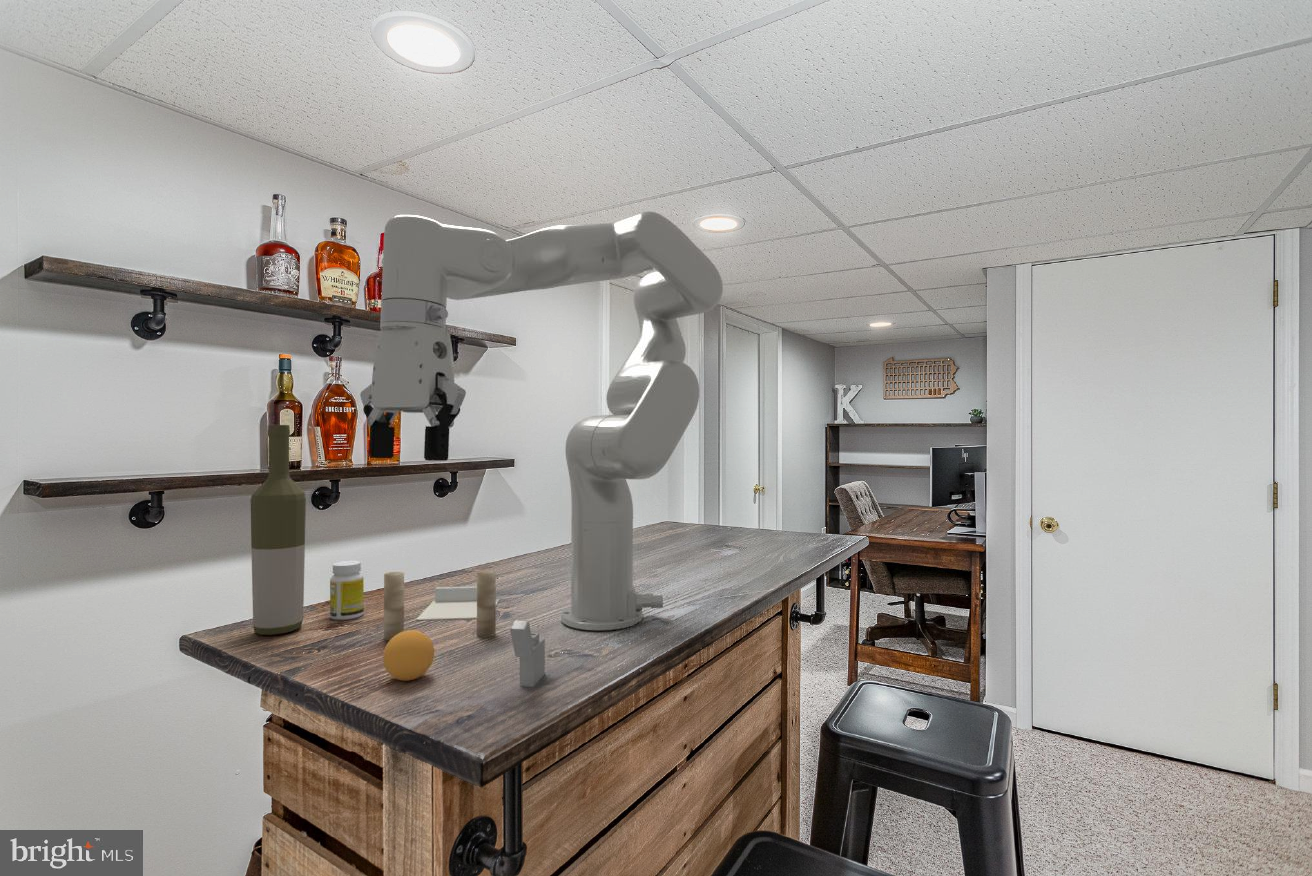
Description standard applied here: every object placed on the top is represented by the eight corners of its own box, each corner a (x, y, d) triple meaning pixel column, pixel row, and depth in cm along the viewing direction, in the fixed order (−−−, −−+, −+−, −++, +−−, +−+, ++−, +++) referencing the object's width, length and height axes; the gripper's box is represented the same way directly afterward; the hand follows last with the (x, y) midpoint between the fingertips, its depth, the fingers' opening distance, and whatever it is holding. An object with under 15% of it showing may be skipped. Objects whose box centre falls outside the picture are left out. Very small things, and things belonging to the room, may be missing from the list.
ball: (439, 669, 78) (439, 623, 78) (427, 687, 72) (427, 637, 72) (391, 670, 77) (391, 624, 77) (376, 689, 71) (376, 639, 71)
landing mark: (499, 600, 110) (499, 599, 110) (489, 618, 100) (489, 616, 100) (433, 601, 109) (433, 600, 109) (416, 620, 98) (416, 618, 98)
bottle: (295, 637, 90) (295, 424, 90) (240, 639, 89) (241, 424, 89) (313, 622, 97) (313, 425, 97) (263, 624, 96) (263, 425, 96)
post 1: (406, 634, 91) (406, 571, 91) (400, 640, 89) (401, 575, 89) (387, 635, 91) (387, 572, 91) (381, 640, 88) (381, 575, 88)
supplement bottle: (369, 612, 103) (369, 560, 103) (352, 620, 98) (352, 566, 98) (341, 611, 103) (341, 559, 103) (323, 619, 98) (323, 565, 98)
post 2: (496, 631, 93) (496, 569, 93) (494, 637, 90) (494, 573, 90) (478, 632, 92) (478, 570, 92) (475, 637, 90) (475, 574, 90)
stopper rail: (496, 600, 110) (496, 585, 110) (495, 601, 109) (495, 587, 109) (436, 601, 109) (436, 587, 109) (435, 603, 108) (435, 588, 108)
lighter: (531, 672, 77) (531, 606, 77) (545, 673, 76) (545, 606, 76) (509, 696, 70) (509, 623, 70) (524, 697, 69) (524, 623, 69)
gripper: (487, 321, 78) (482, 461, 77) (391, 330, 86) (386, 457, 86) (440, 308, 71) (434, 461, 71) (341, 319, 80) (334, 456, 79)
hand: (407, 459), depth 78 cm, fingers open, 9 cm apart
